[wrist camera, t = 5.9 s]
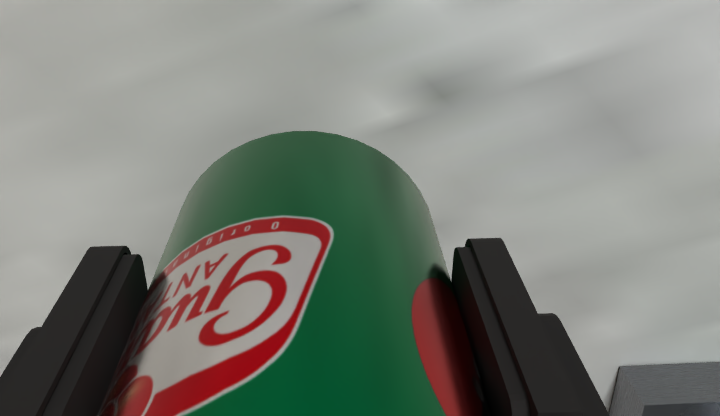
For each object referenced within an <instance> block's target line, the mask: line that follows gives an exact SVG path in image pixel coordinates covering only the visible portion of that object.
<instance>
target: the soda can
mask: <svg viewBox="0 0 720 416" xmlns="http://www.w3.org/2000/svg"><path fill="white" fill-rule="evenodd" d="M97 416H492V414H491V410H490V407H489V404H488V401H487V397H486V394H485V391H484V388H483V384H482V381H481V378H480V375H479V371H478V368H477V365H476V362H475V358H474V355H473V352H472V348H471V345H470V342H469V339H468V335H467V332H466V329H465V326H464V322H463V319H462V316H461V313H460V309H459V306H458V303H457V300H456V296H455V293H454V290H453V287H452V283H451V280H450V277H449V274H448V270H447V267H446V264H445V260H444V257H443V254H442V251H441V247H440V244H439V241H438V238H437V234H436V231H435V228H434V225H433V221H432V218H431V215H430V212H429V208H428V206H427V204H426V202H425V200H424V198H423V196H422V194H421V192H420V190H419V189H418V188H417V186H416V185H415V184H414V182H413V181H412V180H411V178H410V177H409V175H407V174H406V173H405V172H404V171H403V170H402V169H401V168H400V167H399V166H398V165H397V164H396V163H395V162H394V161H392V160H391V159H390V158H388V157H387V156H385V155H384V154H382V153H381V152H379V151H378V150H376V149H374V148H372V147H370V146H368V145H366V144H364V143H362V142H359V141H357V140H354V139H351V138H347V137H344V136H341V135H337V134H331V133H324V132H317V131H291V132H285V133H278V134H271V135H268V136H265V137H262V138H258V139H255V140H252V141H249V142H247V143H245V144H243V145H241V146H239V147H237V148H235V149H233V150H231V151H230V152H228V153H227V154H225V155H224V156H223V157H221V158H220V159H218V160H217V161H215V162H214V163H213V164H212V165H211V166H210V167H209V168H208V169H207V170H206V171H205V172H204V173H203V174H202V175H201V176H200V177H199V179H198V180H197V181H196V183H195V184H194V186H193V187H192V189H191V190H190V191H189V193H188V195H187V197H186V200H185V202H184V204H183V206H182V208H181V211H180V213H179V216H178V218H177V220H176V223H175V225H174V228H173V230H172V233H171V235H170V238H169V240H168V243H167V245H166V248H165V250H164V253H163V255H162V257H161V260H160V262H159V265H158V267H157V270H156V272H155V275H154V277H153V280H152V282H151V285H150V287H149V289H148V292H147V294H146V297H145V299H144V302H143V304H142V307H141V309H140V312H139V314H138V317H137V319H136V322H135V324H134V326H133V329H132V331H131V334H130V336H129V339H128V341H127V344H126V346H125V349H124V351H123V354H122V356H121V359H120V361H119V363H118V366H117V368H116V371H115V373H114V376H113V378H112V381H111V383H110V386H109V388H108V391H107V393H106V395H105V398H104V400H103V403H102V405H101V408H100V410H99V413H98V415H97Z"/></svg>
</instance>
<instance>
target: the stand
mask: <svg viewBox="0 0 720 416" xmlns="http://www.w3.org/2000/svg"><path fill="white" fill-rule="evenodd" d="M609 415H610V416H720V362H708V363H685V364H663V365H640V366H620V369H619V373H618V377H617V382H616V386H615V390H614V395H613V399H612V403H611V408H610V412H609Z"/></svg>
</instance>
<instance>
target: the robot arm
mask: <svg viewBox="0 0 720 416" xmlns="http://www.w3.org/2000/svg"><path fill="white" fill-rule="evenodd" d="M451 283H452V287H453V290H454V293H455V296H456V300H457V303H458V306H459V309H460V313H461V316H462V319H463V322H464V326H465V329H466V332H467V335H468V339H469V342H470V345H471V348H472V352H473V355H474V358H475V362H476V365H477V368H478V371H479V375H480V378H481V381H482V384H483V388H484V391H485V394H486V397H487V401H488V404H489V407H490V410H491V414H492V416H610V415H609V414H608V412H607V410H606V408H605V406H604V404H603V402H602V400H601V398H600V396H599V394H598V392H597V390H596V388H595V387H594V385H593V383H592V381H591V379H590V377H589V375H588V373H587V371H586V369H585V367H584V365H583V363H582V361H581V359H580V358H579V356H578V354H577V352H576V350H575V348H574V346H573V344H572V342H571V340H570V338H569V336H568V334H567V332H566V331H565V329H564V327H563V325H562V323H561V321H560V320H559V318H558V317H557V315H555V314H553V313H548V314H538V313H537V311H536V309H535V307H534V305H533V303H532V301H531V299H530V296H529V294H528V292H527V290H526V288H525V286H524V284H523V282H522V280H521V277H520V275H519V273H518V271H517V269H516V267H515V265H514V263H513V261H512V259H511V256H510V254H509V252H508V250H507V248H506V246H505V244H504V242H503V240H502V239H501V238H479V239H467V241H466V244H465V247H456V248H455V251H454V257H453V269H452V281H451ZM147 292H148V289H147V283H146V277H145V271H144V265H143V261H142V258H141V256H140V255H139V254H133V255H131V252H130V250H129V248H128V247H127V246H101V247H90V248H89V249H88V250H87V252H86V254H85V255H84V257H83V259H82V260H81V262H80V264H79V265H78V267H77V269H76V270H75V272H74V274H73V275H72V277H71V279H70V280H69V282H68V284H67V285H66V287H65V289H64V290H63V292H62V294H61V295H60V297H59V299H58V300H57V302H56V304H55V305H54V307H53V309H52V310H51V312H50V314H49V315H48V317H47V318H46V320H45V322H44V323H43V325H42V327H36V328H34V329H31V331H30V332H29V333H28V334H27V335H26V337H25V338H24V340H23V341H22V343H21V345H20V346H19V348H18V349H17V351H16V353H15V354H14V356H13V357H12V359H11V361H10V362H9V364H8V365H7V367H6V369H5V370H4V372H3V374H2V375H1V377H0V416H97V415H98V413H99V410H100V408H101V405H102V403H103V400H104V398H105V395H106V393H107V391H108V388H109V386H110V383H111V381H112V378H113V376H114V373H115V371H116V368H117V366H118V363H119V361H120V359H121V356H122V354H123V351H124V349H125V346H126V344H127V341H128V339H129V336H130V334H131V331H132V329H133V326H134V324H135V322H136V319H137V317H138V314H139V312H140V309H141V307H142V304H143V302H144V299H145V297H146V294H147Z"/></svg>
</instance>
